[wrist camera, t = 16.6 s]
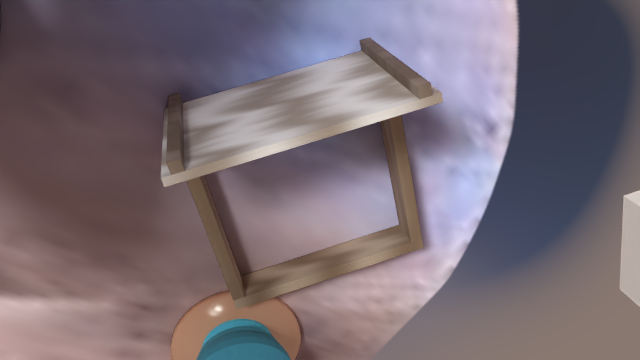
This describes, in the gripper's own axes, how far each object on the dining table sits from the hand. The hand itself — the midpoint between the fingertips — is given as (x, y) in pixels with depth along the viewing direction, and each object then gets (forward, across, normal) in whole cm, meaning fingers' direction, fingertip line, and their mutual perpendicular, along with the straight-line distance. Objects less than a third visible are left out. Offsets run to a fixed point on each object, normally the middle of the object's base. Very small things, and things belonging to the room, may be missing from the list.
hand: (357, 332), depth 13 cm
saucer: (+33, -8, -28) cm, 44 cm away
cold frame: (+33, +2, -14) cm, 35 cm away
